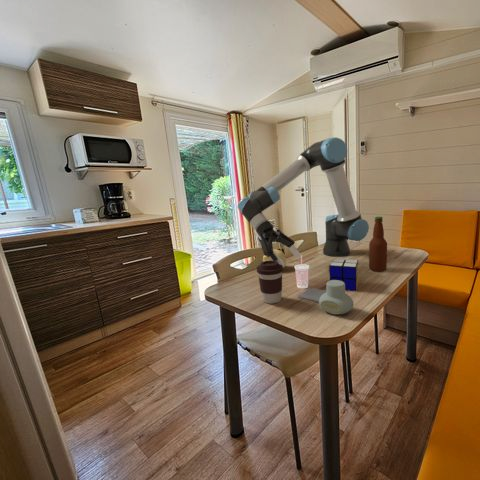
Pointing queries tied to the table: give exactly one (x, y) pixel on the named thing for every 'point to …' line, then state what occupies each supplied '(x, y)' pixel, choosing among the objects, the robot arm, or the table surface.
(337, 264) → the puzzle cube
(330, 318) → the table surface
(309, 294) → the slate coaster
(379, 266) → the bottle
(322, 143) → the robot arm
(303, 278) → the beverage cup
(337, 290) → the air freshener
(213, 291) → the table surface
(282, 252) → the sculpture
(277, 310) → the table surface
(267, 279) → the coffee cup
